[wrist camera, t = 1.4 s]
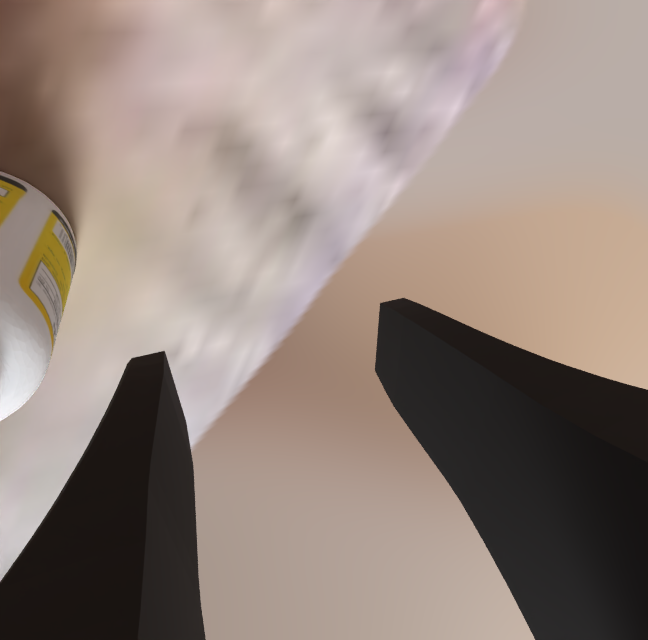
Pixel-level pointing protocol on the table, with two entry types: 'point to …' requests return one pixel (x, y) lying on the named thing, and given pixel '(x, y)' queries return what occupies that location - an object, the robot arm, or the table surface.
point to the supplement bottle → (30, 287)
